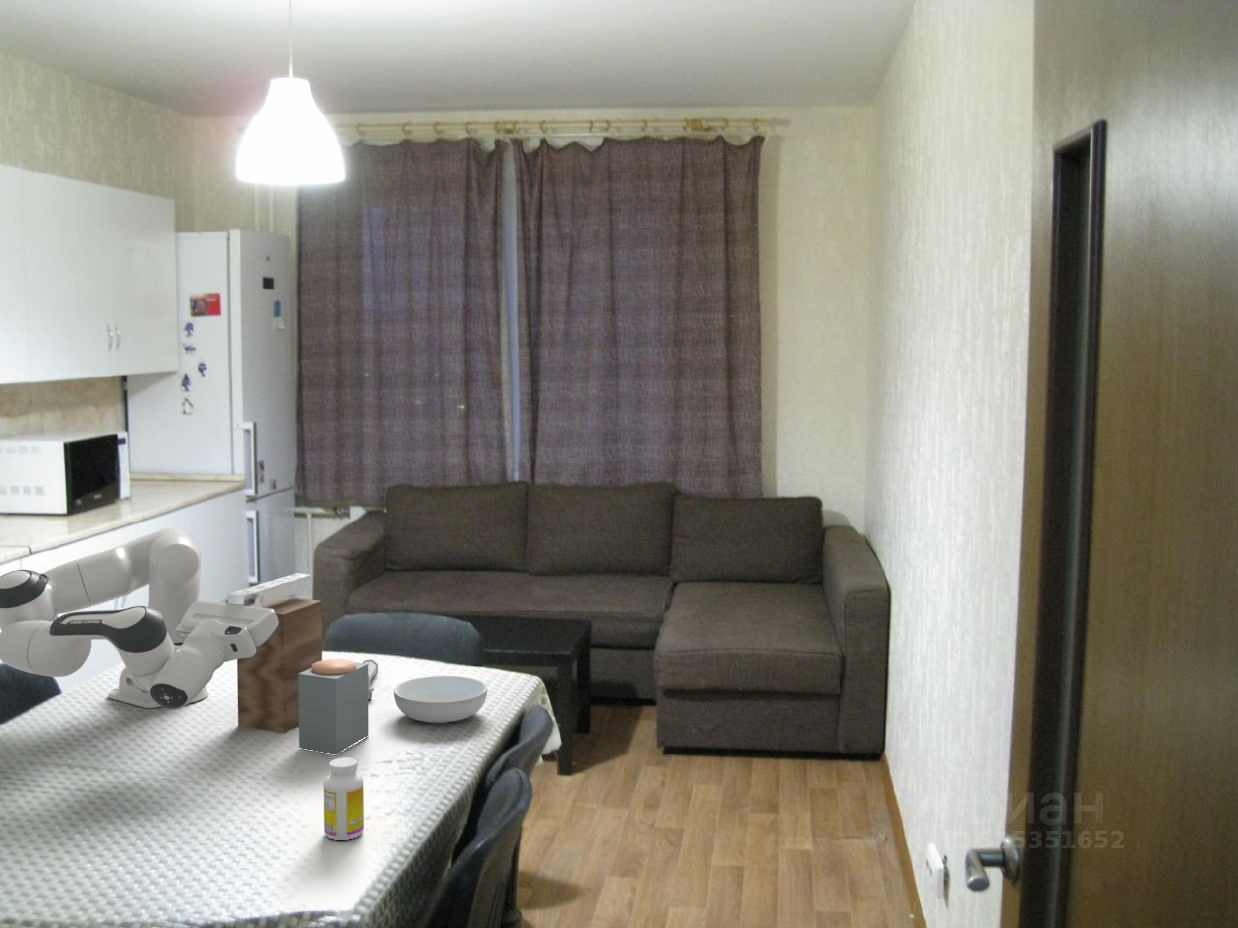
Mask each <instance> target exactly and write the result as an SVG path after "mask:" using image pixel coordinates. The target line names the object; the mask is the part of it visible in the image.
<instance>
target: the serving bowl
mask: <svg viewBox="0 0 1238 928" xmlns="http://www.w3.org/2000/svg"><path fill="white" fill-rule="evenodd" d="M488 688H489V687H488V685H487V684H486V683H485V682H483V681H482V680H478V679H476V678H472V677H465V676H458V675H456V676H455V675H436V676H435V675H433V676H424V677H418V678H413V679H409V680H405V681H403V682H400V683H399V684H397V685H396V686H395V687H393V696H394V701H395V704H396V707H397V708H398V710H400V711H401V712H402V714H404V716H406V717H408V718H409V719H412V720H416V721H418V722H423V723H428V722H431V723H430V724H435V723H442V724H446V723H445V722H450V723H453V721H454V722H457V721H462V720H464V719H467V718H470V717H472V716H473V715H475V714H476V713H478V711H480V709H481V708H482V706H484V704H485V701H486V699H487V695H488V690H489V689H488Z"/></svg>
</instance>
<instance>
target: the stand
mask: <svg viewBox="0 0 1238 928" xmlns="http://www.w3.org/2000/svg"><path fill="white" fill-rule="evenodd" d="M322 604H323V603H322V600H317V599H309V598H308V599H307V598H300V597H290V596H286V597H282V598H279V599H276V600H273V601H270V602H267V603H264V604H262V605H261V608H268V609H273V610H274V611H275V613H276V615H277V618H278V622H279V623H278V626H277V628H276V629H275V630H274V632H273V633H272V634H271V635H270V637H269V638H268V639H267V640H266V641H265V642H264V643H263V644H262V645H260V646H257V647H256V650H257V651H256V653H255V655H254V656H252V657H248V658H240V659H236V666H237V668H236V672H237V676H236V677H237V680H236V681H237V683H236V685H237V726H238V727H243V728H248V729H254V730H260V731H267V732H273V733H280V734H288V732H291V731H293V730H294V728H295V729H296V727H297V728H299V727H298V726H299V685H298V674H299V673H301V672H303V671H306V670H308V669H310V668H312V664H314V663H315V662H318V661H322V660H323V614H322V613H323V610H322V608H323V607H322V606H323V605H322ZM292 729H293V730H292ZM290 730H291V731H290Z"/></svg>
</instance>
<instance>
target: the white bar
mask: <svg viewBox="0 0 1238 928" xmlns="http://www.w3.org/2000/svg"><path fill="white" fill-rule="evenodd" d="M312 580H313V576H312V574H308V573H299V572H298V573H293V574H290V575H285V576H283V577H280V578H276V579H272V580H270V581H266V582H262V583H259V584H256V585H253V586H249V587H247V588H243V589H239V590H236V591H233V592H230V593H227V597H228V604H234V605H243V606H251V605H252V604H254V601H253V599H252V598H253V597H254V596H255V595H256V594H262V595H263V596H264V598H265V600H264V602H263V603H262V604H264V603H267V602H270V601H273V600H276V599H279V598H282V597H290V596H291V595H295V594H298V593H301V592H303V591H306V590H309V589H312V588H313V581H312ZM254 605H255V604H254Z"/></svg>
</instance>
